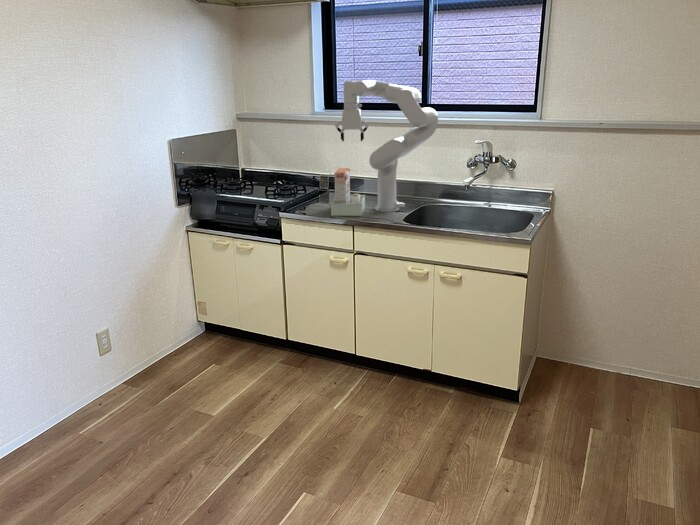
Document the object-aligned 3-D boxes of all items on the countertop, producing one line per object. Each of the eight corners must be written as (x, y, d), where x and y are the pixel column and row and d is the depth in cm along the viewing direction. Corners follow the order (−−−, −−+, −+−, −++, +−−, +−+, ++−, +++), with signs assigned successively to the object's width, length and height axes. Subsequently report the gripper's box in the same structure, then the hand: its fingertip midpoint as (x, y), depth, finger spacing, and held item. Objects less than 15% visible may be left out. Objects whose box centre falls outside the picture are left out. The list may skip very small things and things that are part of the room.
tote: (365, 207, 299) (365, 195, 297) (362, 216, 282) (361, 203, 279) (335, 207, 301) (335, 195, 299) (330, 216, 284) (330, 203, 281)
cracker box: (346, 214, 285) (345, 172, 277) (335, 214, 285) (333, 172, 278) (351, 207, 298) (350, 167, 291) (339, 207, 298) (338, 167, 291)
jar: (360, 209, 292) (360, 193, 290) (360, 212, 288) (359, 195, 285) (352, 209, 293) (352, 193, 290) (351, 211, 289) (351, 195, 286)
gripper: (369, 105, 288) (369, 139, 294) (335, 106, 290) (336, 140, 296) (368, 106, 281) (368, 141, 287) (333, 107, 283) (334, 142, 289)
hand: (352, 140), depth 292 cm, fingers open, 9 cm apart
